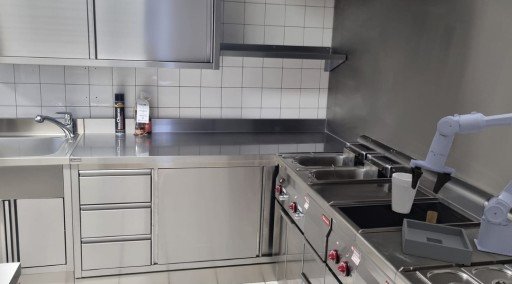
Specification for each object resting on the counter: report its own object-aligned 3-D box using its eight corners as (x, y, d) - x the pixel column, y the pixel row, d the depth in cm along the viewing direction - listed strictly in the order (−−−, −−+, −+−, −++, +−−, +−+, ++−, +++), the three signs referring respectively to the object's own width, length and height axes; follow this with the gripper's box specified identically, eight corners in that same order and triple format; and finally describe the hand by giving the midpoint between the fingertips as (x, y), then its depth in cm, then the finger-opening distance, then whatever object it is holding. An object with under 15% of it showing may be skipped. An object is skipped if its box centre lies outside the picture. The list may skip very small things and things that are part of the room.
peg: (433, 228, 151) (436, 211, 150) (434, 231, 148) (437, 214, 147) (424, 227, 152) (427, 210, 151) (425, 230, 149) (428, 213, 148)
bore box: (461, 242, 142) (463, 228, 141) (470, 266, 126) (473, 251, 125) (401, 231, 146) (403, 218, 145) (402, 253, 130) (405, 238, 129)
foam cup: (407, 206, 172) (412, 173, 169) (418, 215, 163) (424, 180, 160) (383, 205, 170) (388, 172, 168) (394, 214, 161) (399, 179, 159)
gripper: (454, 152, 148) (439, 189, 152) (412, 143, 147) (399, 181, 151) (464, 160, 142) (448, 198, 146) (420, 150, 140) (406, 189, 144)
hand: (423, 190), depth 148 cm, fingers open, 7 cm apart
